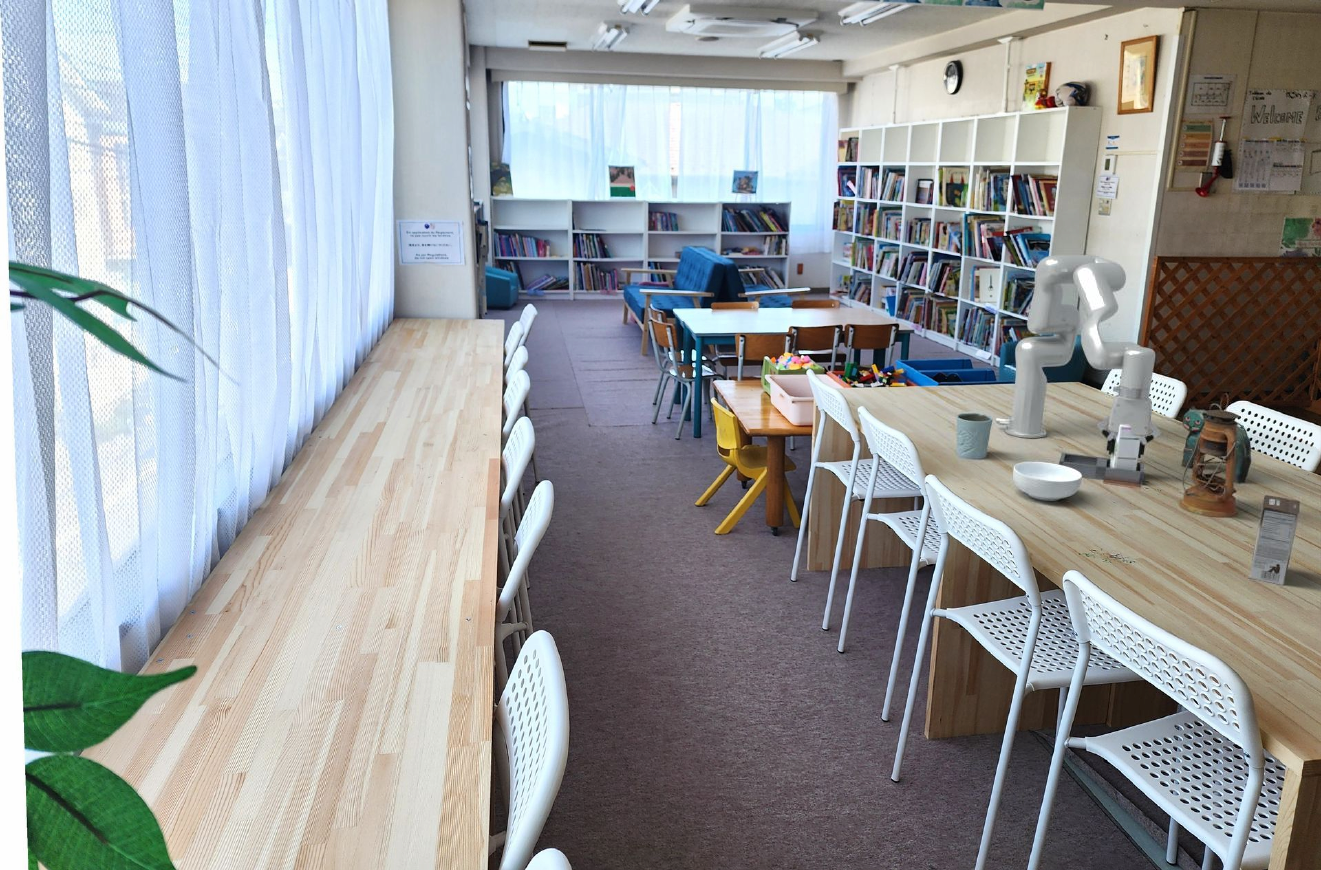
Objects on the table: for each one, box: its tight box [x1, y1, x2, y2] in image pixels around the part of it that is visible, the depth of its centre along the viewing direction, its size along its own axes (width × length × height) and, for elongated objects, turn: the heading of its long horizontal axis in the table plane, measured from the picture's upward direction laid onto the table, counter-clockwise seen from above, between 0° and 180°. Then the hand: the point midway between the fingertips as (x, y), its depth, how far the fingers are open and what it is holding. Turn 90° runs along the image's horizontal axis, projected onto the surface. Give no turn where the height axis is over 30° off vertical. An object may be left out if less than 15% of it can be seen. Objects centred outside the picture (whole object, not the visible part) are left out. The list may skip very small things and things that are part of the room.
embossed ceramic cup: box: [955, 412, 993, 460], centre depth 279 cm, size 10×10×12 cm
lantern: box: [1178, 393, 1240, 518], centre depth 233 cm, size 17×13×30 cm
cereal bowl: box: [1012, 461, 1083, 502], centre depth 245 cm, size 17×17×7 cm
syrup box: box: [1109, 425, 1141, 471], centre depth 259 cm, size 6×6×14 cm
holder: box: [1058, 452, 1146, 489], centre depth 262 cm, size 22×14×4 cm, turn 64°
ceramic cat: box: [1181, 403, 1252, 484], centre depth 263 cm, size 20×6×20 cm, turn 22°
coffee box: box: [1249, 494, 1301, 586], centre depth 196 cm, size 9×6×16 cm
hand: (1124, 454), depth 260 cm, fingers closed on syrup box, 6 cm apart
